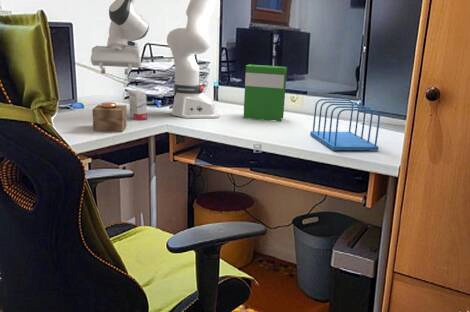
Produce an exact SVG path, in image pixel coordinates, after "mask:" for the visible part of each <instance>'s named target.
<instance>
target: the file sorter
mask: <svg viewBox="0 0 470 312" xmlns="http://www.w3.org/2000/svg"><path fill="white" fill-rule="evenodd" d="M321 101H323V103H322V104H320V108H319V118H318V129H317V131H315V126H316V118H317V117H316V116H317V107H318V104H319V102H321ZM327 103H329V105H327V107H325V112H324V113H325V114H324V123H323V130H322V131H320V129H321V122H322V113H323V112H322V110H323V106H324V105H325V104H327ZM331 106H335V107H334V108H333V109H332V110H331V113H330V120H329V131H326V128H327V127H326V126H327V118H328V117H327V116H328V110H329V108H330V107H331ZM337 109H341V110H340V111H339V112H338V113H337V116H336V126H335V131H332V127H333V126H332V125H333V117H334V116H333V115H334V112H335V110H337ZM345 111H349V112H350V111H351V112H350V119H349V127H348V131H338V128H339V119H340V115H341V113H342V112H345ZM356 111H357V113H356V121H355V130H354V133H353V132H351V129H352V121H353V112H356ZM361 111H363V117H362V118H363V119H362V127H361V128H362V129H361V133H360V136H359V135H357V130H358V123H359V115H360V112H361ZM367 112H370V121H369V127H368V134H367V135H368V136H367V139H365V138H363V137H364V130H365V121H366V113H367ZM373 112H375V113H376V114H377V116H378V117H377V126H376V130H375V131H376V132H375V139H374V143H372V142H370V139H371V138H370V137H371V130H372V123H373V116H374V115H373V114H374V113H373ZM380 121H381V114H380V112H379V111H378V110H376V109H373V108H370V107H368V106H364V104H360V103H357V102H355V101H352V100H351V99H346V98H345V99H344V98H343V99H342V98H340V99H339V98H338V99H337V98H320V99H318V100H317V101H316V102H315V106H314V113H313V124H312V131H310V132H309V133H310V134H309V136H311V137H312V136H313V137H312V138H314V139H315V138H316V139H315V140H317V141H318V140H319V141H318V142H320V143H321V142H322V143H321V144H323V145H324V144H325V145H324V146H326V147H327V146H328V147H327V148H328V149H330V148H331V149H330V150H331V151H333V150H378V151H379V146H378V143H377V142H378V136H379V129H380Z"/></svg>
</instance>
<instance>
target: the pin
mask: <svg viewBox="0 0 470 312" xmlns="http://www.w3.org/2000/svg"><path fill="white" fill-rule="evenodd" d="M116 105H117V104H116V103H115V102H101V107H102V108H116Z"/></svg>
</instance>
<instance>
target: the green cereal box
mask: <svg viewBox="0 0 470 312" xmlns="http://www.w3.org/2000/svg"><path fill="white" fill-rule="evenodd" d="M287 70H288V67H287V66H278V65H277V66H276V65H275V66H274V65H262V64H261V65H259V64H247V65H245V76H244V77H245V78H244V79H245V81H244V97H243V98H244V99H243V100H244V101H243V117H242V118H243V119H249V118H251V119H252V120H260V119H264V120H265V121H271V120H276V121H275V122H282V119H281V118H283V119H284V114H285V113H284V112H285V99H286V98H285V97H286V96H285V95H286V86H287V85H286V84H287ZM251 119H250V120H251ZM264 120H263V121H264Z"/></svg>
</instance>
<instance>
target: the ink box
mask: <svg viewBox="0 0 470 312" xmlns="http://www.w3.org/2000/svg"><path fill="white" fill-rule="evenodd" d="M128 99H129V100H128V101H129V103H128V104H129V118H131V119H134V120H137V121H143V120H148V115H147V113H148V112H147V92H146V91H145V92H144V91H142V90H139V89H137V90H128Z"/></svg>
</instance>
